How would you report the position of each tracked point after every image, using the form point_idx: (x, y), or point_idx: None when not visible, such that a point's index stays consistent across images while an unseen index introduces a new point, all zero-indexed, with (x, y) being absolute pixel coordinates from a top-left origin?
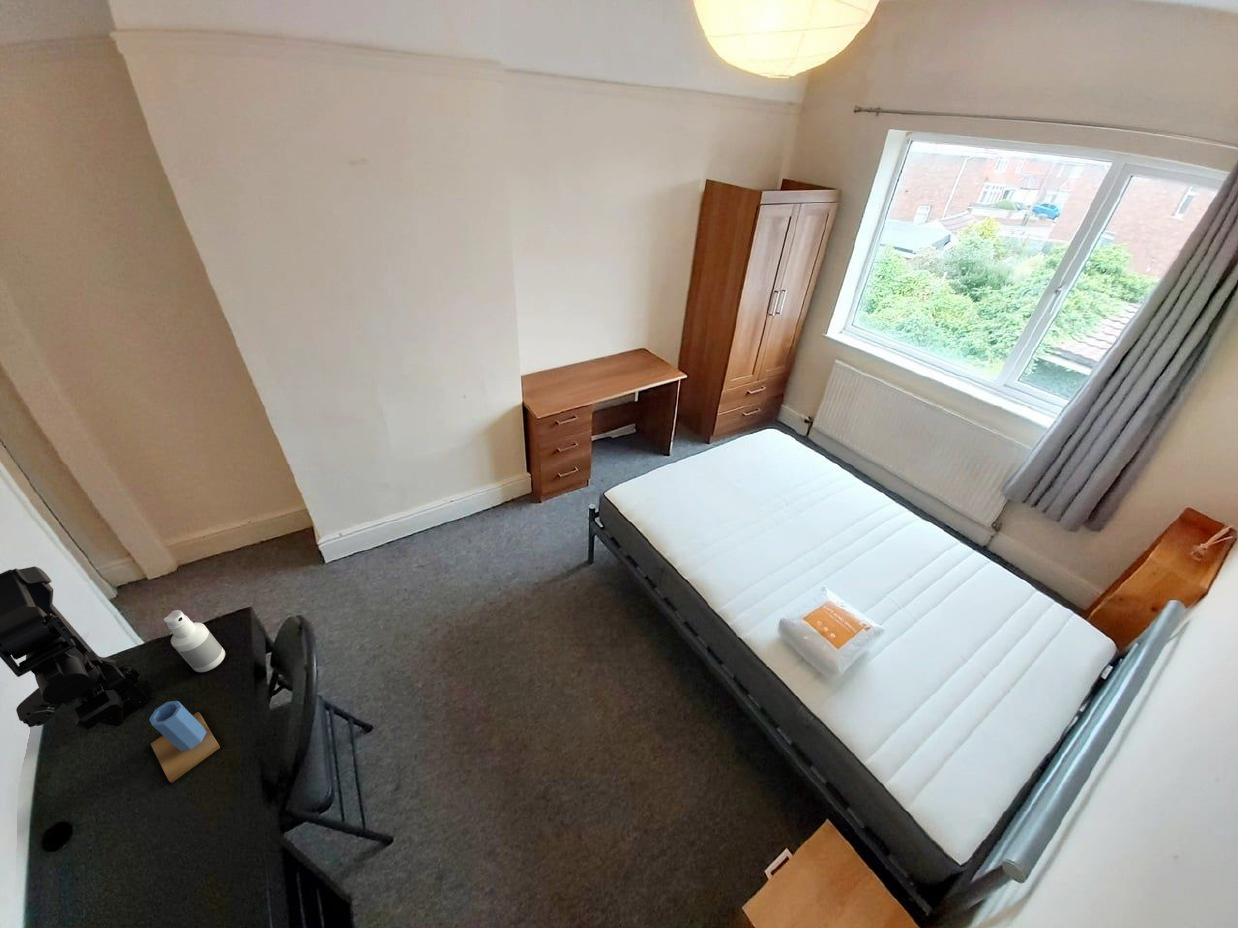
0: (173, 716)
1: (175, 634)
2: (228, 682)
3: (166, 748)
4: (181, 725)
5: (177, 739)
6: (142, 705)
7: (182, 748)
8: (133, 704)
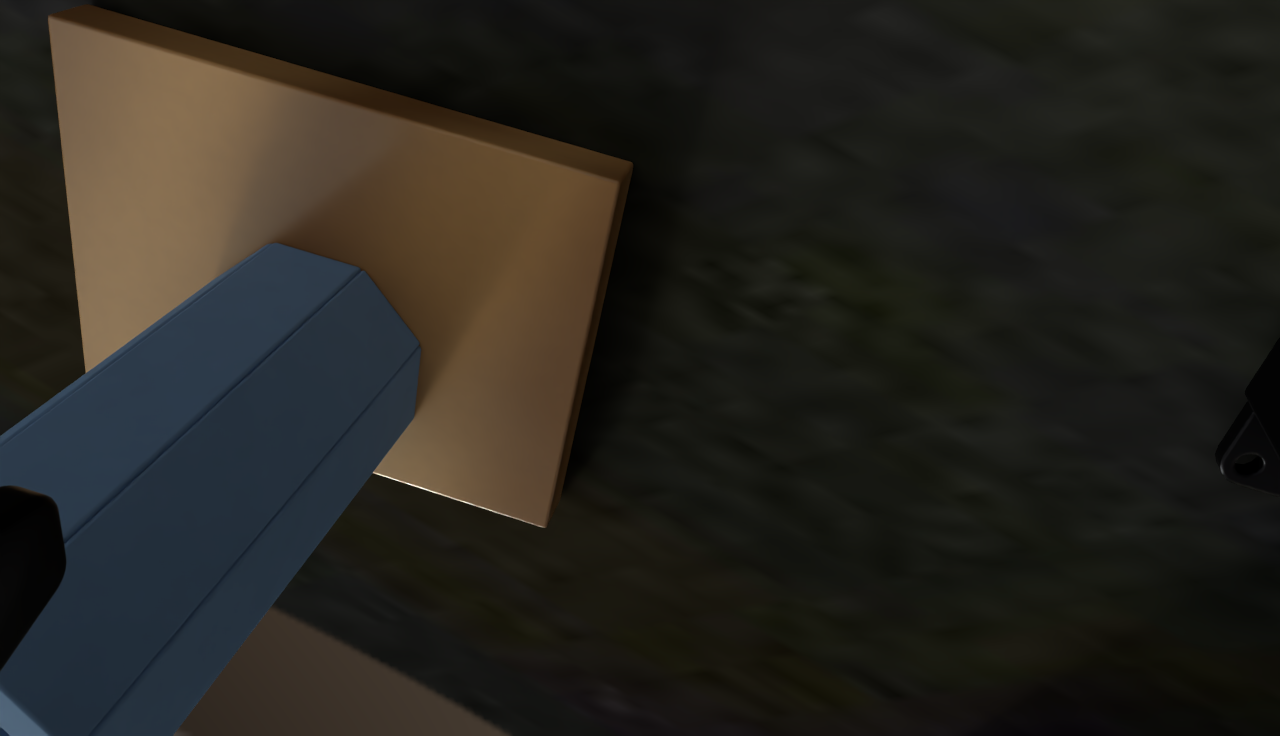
0: None
1: None
2: (642, 724)
3: (413, 209)
4: None
5: (77, 380)
6: (1242, 417)
7: (222, 275)
8: (1276, 438)
